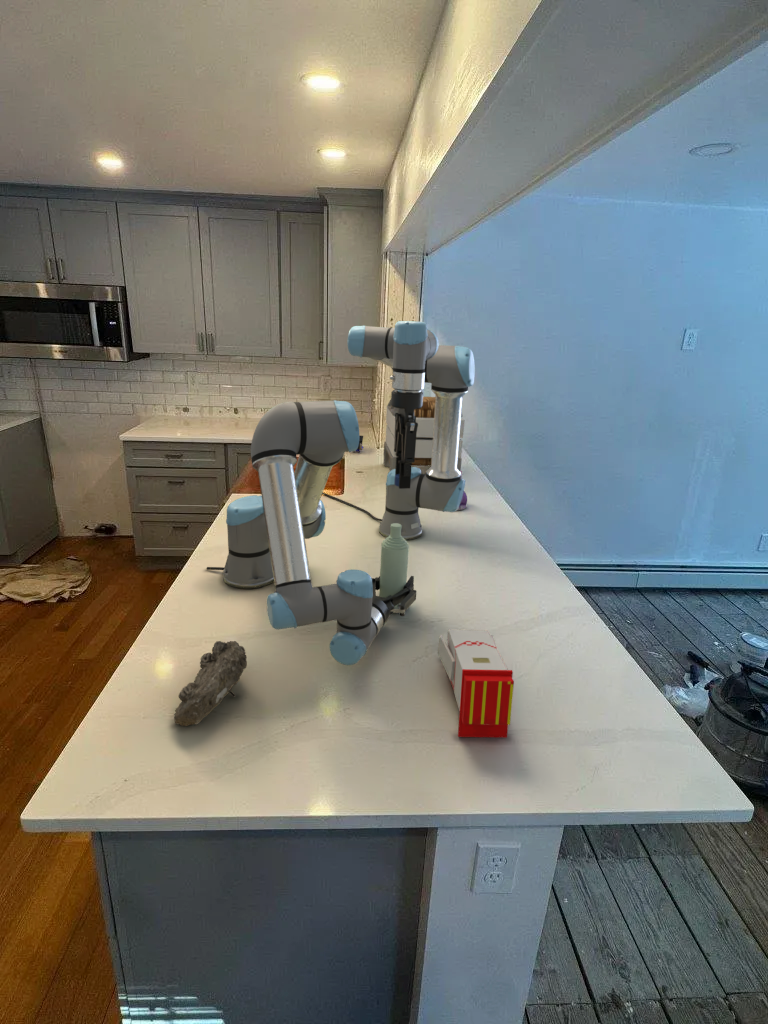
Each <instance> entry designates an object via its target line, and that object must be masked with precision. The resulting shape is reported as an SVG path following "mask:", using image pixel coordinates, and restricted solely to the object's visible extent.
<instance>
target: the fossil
mask: <svg viewBox="0 0 768 1024" xmlns="http://www.w3.org/2000/svg"><path fill="white" fill-rule="evenodd" d="M247 666H248V661H247V652H246V648H244V646H242V645H240V644H239V642H237V641H236V640H229V641H227V642H225V641H221V640H217V641H216V642H214V644H213V646H212V648H211V652H206V653H204V654H203V655H202V656H201V657H200V661H199V667H200V669H199V670H198V673H197V674H196V676H195V678H194V680H193V682H189V683H187V684H186V686H184V687H182V689H181V690H180V692H179V694H178V699H179V700H180V701H181V702H180V703H179V705H178V706H177V707H176V708H175V709H174V712H175V713H173V716H174V717H173V718H174V723H175V725H176V724H177V725H180V726H181V727H187V726H192V725H198V724H200V723H201V721H203V719H204V718H206V717H207V716H209V715H210V713H211V712H212V711H213V710H214V709H215V708H216V707H218V705H220V704H221V703H222V701H223V700H224V697H226V696H227V695H228V694H230V695H231V696H232V697H233V698H235V697H236V694H235V693H234V692H233V691H232V688H233V686H235V685H237V684H238V682H239V681H240V680H241V676H242V674H243V673H244V670H245V669H247Z"/></svg>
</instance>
